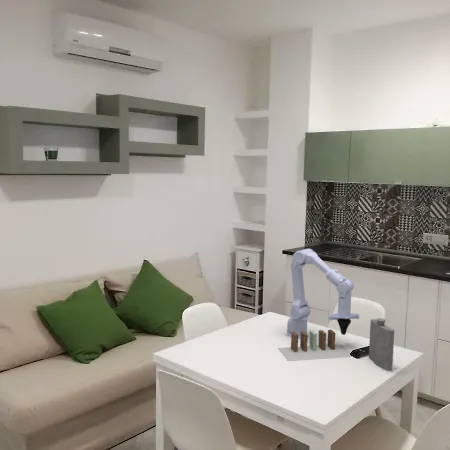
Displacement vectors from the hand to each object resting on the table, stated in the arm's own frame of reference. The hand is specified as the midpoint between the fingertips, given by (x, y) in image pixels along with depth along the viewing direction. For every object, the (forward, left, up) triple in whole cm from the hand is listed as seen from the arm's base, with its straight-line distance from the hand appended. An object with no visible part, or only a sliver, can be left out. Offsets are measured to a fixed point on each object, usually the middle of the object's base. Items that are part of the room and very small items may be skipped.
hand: (343, 334), depth 239 cm
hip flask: (+21, -6, -7) cm, 23 cm away
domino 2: (-11, -16, -6) cm, 20 cm away
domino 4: (-3, -5, -6) cm, 9 cm away
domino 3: (-6, -8, -6) cm, 12 cm away
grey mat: (-5, -14, -7) cm, 17 cm away
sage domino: (-9, -12, -6) cm, 16 cm away
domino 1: (-14, -19, -6) cm, 25 cm away
